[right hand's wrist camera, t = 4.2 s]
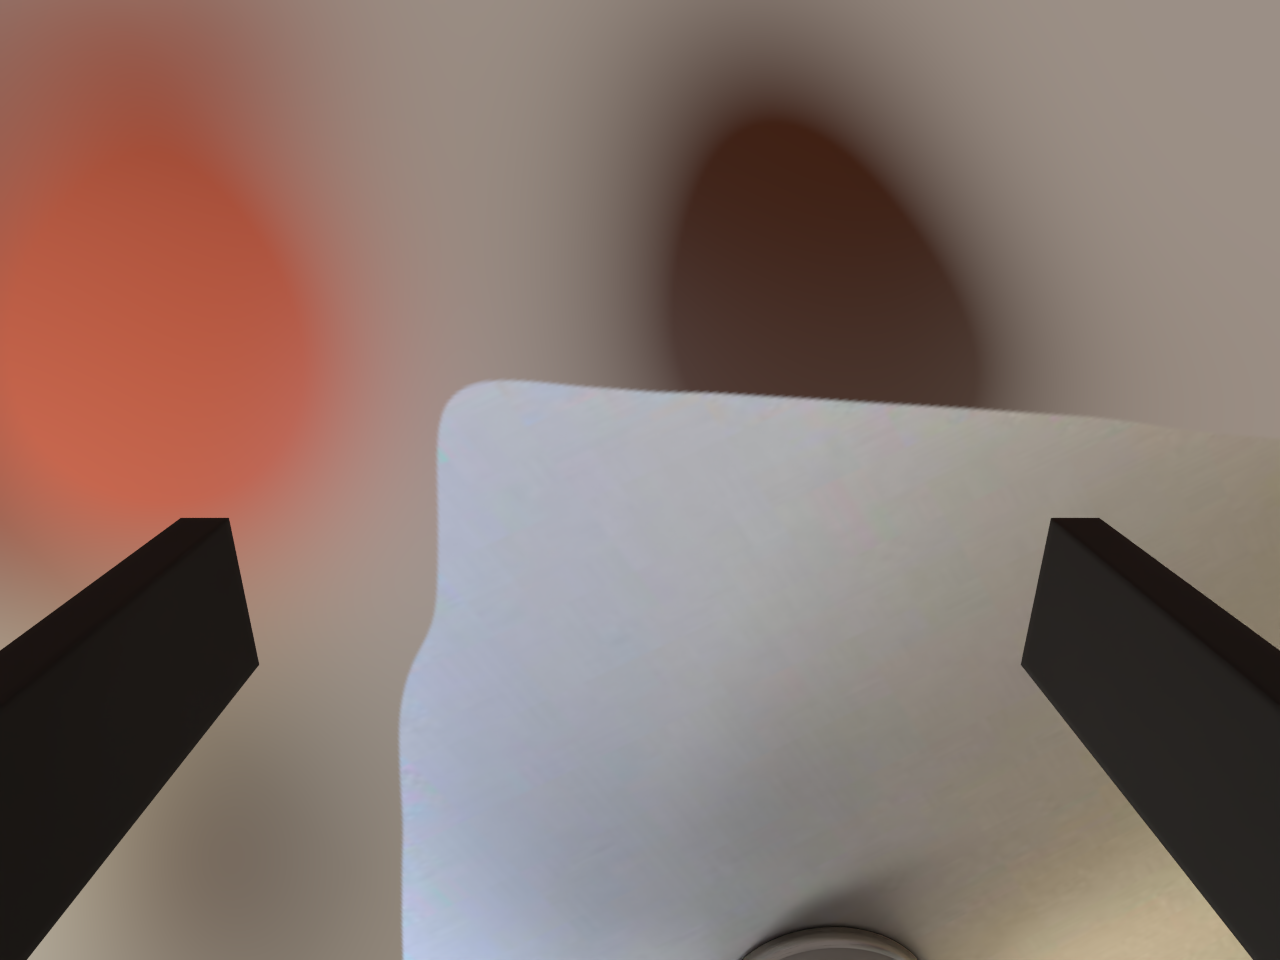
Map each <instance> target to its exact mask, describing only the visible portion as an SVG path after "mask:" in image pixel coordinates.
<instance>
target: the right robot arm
mask: <svg viewBox="0 0 1280 960" xmlns="http://www.w3.org/2000/svg"><path fill="white" fill-rule="evenodd" d="M258 665H259V662H258V657H257V652H256V647H255V642H254V637H253V633H252V628H251V623H250V618H249V613H248V608H247V604H246V599H245V594H244V589H243V584H242V579H241V575H240V570H239V565H238V560H237V555H236V551H235V546H234V541H233V536H232V531H231V526H230V521H229V518H180V519H179V520H178V521H176V522H175V523H174V524H172V525H171V526H169V527H168V528H167V529H165V530H164V531H163V532H161V533H160V534H158V535H157V536H156V537H154V538H153V539H152V540H150V541H149V542H148V543H146V544H145V545H143V546H142V547H141V548H139V549H138V550H137V551H135V552H134V553H133V554H131V555H130V556H128V557H127V558H126V559H124V560H123V561H122V562H120V563H119V564H118V565H116V566H115V567H114V568H112V569H111V570H109V571H108V572H107V573H105V574H104V575H103V576H101V577H100V578H99V579H97V580H96V581H94V582H93V583H92V584H90V585H89V586H88V587H86V588H85V589H84V590H82V591H81V592H80V593H78V594H77V595H75V596H74V597H73V598H71V599H70V600H69V601H67V602H66V603H65V604H63V605H62V606H60V607H59V608H58V609H56V610H55V611H54V612H52V613H51V614H49V615H48V616H47V617H45V618H44V619H43V620H41V621H40V622H39V623H37V624H36V625H35V626H33V627H32V628H30V629H29V630H28V631H26V632H25V633H24V634H22V635H21V636H20V637H18V638H17V639H15V640H14V641H13V642H11V643H10V644H9V645H7V646H6V647H5V648H3V649H2V650H0V960H27V959H28V957H29V956H30V955H31V954H32V952H33V951H34V950H35V949H36V947H37V946H38V945H39V943H40V942H41V941H42V940H43V938H44V937H45V936H46V935H47V933H48V932H49V931H50V930H51V928H52V927H53V926H54V924H55V923H56V922H57V921H58V919H59V918H60V917H61V915H62V914H63V913H64V912H65V910H66V909H67V908H68V907H69V905H70V904H71V903H72V902H73V900H74V899H75V898H76V896H77V895H78V894H79V893H80V891H81V890H82V889H83V888H84V886H85V885H86V884H87V882H88V881H89V880H90V879H91V877H92V876H93V875H94V874H95V872H96V871H97V870H98V869H99V867H100V866H101V865H102V864H103V862H104V861H105V860H106V858H107V857H108V856H109V855H110V853H111V852H112V851H113V850H114V848H115V847H116V846H117V844H118V843H119V842H120V841H121V839H122V838H123V837H124V836H125V834H126V833H127V832H128V830H129V829H130V828H131V827H132V825H133V824H134V823H135V822H136V820H137V819H138V818H139V816H140V815H141V814H142V813H143V811H144V810H145V809H146V808H147V806H148V805H149V804H150V803H151V801H152V800H153V799H154V797H155V796H156V795H157V794H158V792H159V791H160V790H161V789H162V787H163V786H164V785H165V783H166V782H167V781H168V780H169V778H170V777H171V776H172V775H173V773H174V772H175V771H176V770H177V768H178V767H179V766H180V764H181V763H182V762H183V761H184V759H185V758H186V757H187V755H188V754H189V753H190V752H191V750H192V749H193V748H194V747H195V745H196V744H197V743H198V742H199V740H200V739H201V738H202V736H203V735H204V734H205V733H206V731H207V730H208V729H209V728H210V726H211V725H212V724H213V722H214V721H215V720H216V719H217V717H218V716H219V715H220V714H221V712H222V711H223V710H224V709H225V707H226V706H227V705H228V703H229V702H230V701H231V700H232V698H233V697H234V696H235V695H236V693H237V692H238V691H239V690H240V688H241V687H242V686H243V684H244V683H245V682H246V681H247V679H248V678H249V677H250V676H251V674H252V673H253V672H254V670H255V669H256V668H257V667H258ZM1021 665H1022V667H1023V668H1024V669H1025V670H1026V672H1027V673H1028V674H1029V676H1030V677H1031V678H1032V679H1033V681H1034V682H1035V683H1036V684H1037V686H1038V687H1039V688H1040V690H1041V691H1042V692H1043V693H1044V695H1045V696H1046V697H1047V698H1048V700H1049V701H1050V702H1051V703H1052V705H1053V706H1054V707H1055V709H1056V710H1057V711H1058V712H1059V714H1060V715H1061V716H1062V717H1063V719H1064V720H1065V721H1066V723H1067V724H1068V725H1069V726H1070V728H1071V729H1072V730H1073V731H1074V733H1075V734H1076V735H1077V736H1078V738H1079V739H1080V740H1081V742H1082V743H1083V744H1084V745H1085V747H1086V748H1087V749H1088V750H1089V752H1090V753H1091V754H1092V756H1093V757H1094V758H1095V759H1096V761H1097V762H1098V763H1099V764H1100V766H1101V767H1102V768H1103V770H1104V771H1105V772H1106V773H1107V775H1108V776H1109V777H1110V778H1111V780H1112V781H1113V782H1114V783H1115V785H1116V786H1117V787H1118V789H1119V790H1120V791H1121V792H1122V794H1123V795H1124V796H1125V797H1126V799H1127V800H1128V801H1129V803H1130V804H1131V805H1132V806H1133V808H1134V809H1135V810H1136V811H1137V813H1138V814H1139V815H1140V817H1141V818H1142V819H1143V820H1144V822H1145V823H1146V824H1147V825H1148V827H1149V828H1150V829H1151V830H1152V832H1153V833H1154V834H1155V836H1156V837H1157V838H1158V839H1159V841H1160V842H1161V843H1162V844H1163V846H1164V847H1165V848H1166V850H1167V851H1168V852H1169V853H1170V855H1171V856H1172V857H1173V858H1174V860H1175V861H1176V862H1177V864H1178V865H1179V866H1180V867H1181V869H1182V870H1183V871H1184V872H1185V874H1186V875H1187V876H1188V877H1189V879H1190V880H1191V881H1192V883H1193V884H1194V885H1195V886H1196V888H1197V889H1198V890H1199V891H1200V893H1201V894H1202V895H1203V897H1204V898H1205V899H1206V900H1207V902H1208V903H1209V904H1210V905H1211V907H1212V908H1213V909H1214V910H1215V912H1216V913H1217V914H1218V916H1219V917H1220V918H1221V919H1222V921H1223V922H1224V923H1225V924H1226V926H1227V927H1228V928H1229V930H1230V931H1231V932H1232V933H1233V935H1234V936H1235V937H1236V938H1237V940H1238V941H1239V942H1240V944H1241V945H1242V946H1243V947H1244V949H1245V950H1246V951H1247V952H1248V954H1249V955H1250V956H1251V957H1252V959H1253V960H1280V650H1278V649H1277V648H1275V647H1274V646H1273V645H1271V644H1270V643H1269V642H1267V641H1266V640H1265V639H1263V638H1262V637H1260V636H1259V635H1258V634H1256V633H1255V632H1254V631H1252V630H1251V629H1250V628H1248V627H1247V626H1246V625H1244V624H1243V623H1241V622H1240V621H1239V620H1237V619H1236V618H1235V617H1233V616H1232V615H1231V614H1229V613H1228V612H1226V611H1225V610H1224V609H1222V608H1221V607H1220V606H1218V605H1217V604H1216V603H1214V602H1213V601H1211V600H1210V599H1209V598H1207V597H1206V596H1205V595H1203V594H1202V593H1201V592H1199V591H1198V590H1196V589H1195V588H1194V587H1192V586H1191V585H1190V584H1188V583H1187V582H1186V581H1184V580H1183V579H1182V578H1180V577H1179V576H1177V575H1176V574H1175V573H1173V572H1172V571H1171V570H1169V569H1168V568H1167V567H1165V566H1164V565H1162V564H1161V563H1160V562H1158V561H1157V560H1156V559H1154V558H1153V557H1152V556H1150V555H1149V554H1147V553H1146V552H1145V551H1143V550H1142V549H1141V548H1139V547H1138V546H1137V545H1135V544H1134V543H1132V542H1131V541H1130V540H1128V539H1127V538H1126V537H1124V536H1123V535H1122V534H1120V533H1119V532H1118V531H1116V530H1115V529H1113V528H1112V527H1111V526H1109V525H1108V524H1107V523H1105V522H1104V521H1103V520H1101V519H1100V518H1051V521H1050V526H1049V531H1048V536H1047V541H1046V545H1045V550H1044V555H1043V560H1042V565H1041V570H1040V575H1039V579H1038V584H1037V589H1036V594H1035V599H1034V604H1033V608H1032V613H1031V618H1030V623H1029V628H1028V633H1027V637H1026V642H1025V647H1024V652H1023V657H1022V662H1021ZM742 960H918V959H917V958H916V957H915V956H914V955H913V954H912V953H911V952H910V951H909V950H907V949H906V948H905V947H903V946H902V945H900V944H899V943H897V942H895V941H894V940H891V939H889V938H887V937H885V936H882V935H879V934H877V933H873V932H870V931H866V930H861V929H855V928H846V927H822V928H813V929H807V930H801V931H797V932H794V933H790V934H787V935H784V936H781V937H779V938H776V939H774V940H771V941H769V942H767V943H765V944H764V945H762V946H760V947H758V948H757V949H755V950H754V951H752V952H751V953H750V954H748V955H747V956H746V957H745V958H744V959H742Z"/></svg>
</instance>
